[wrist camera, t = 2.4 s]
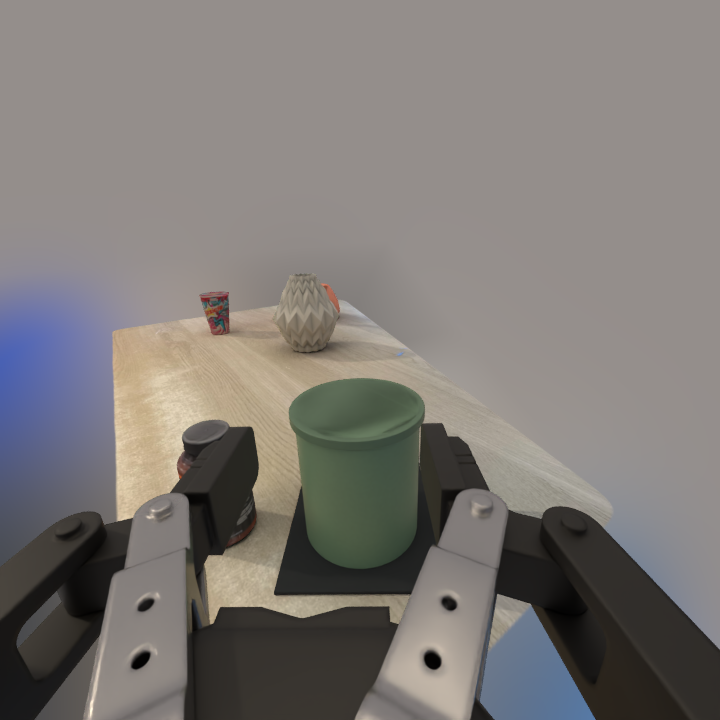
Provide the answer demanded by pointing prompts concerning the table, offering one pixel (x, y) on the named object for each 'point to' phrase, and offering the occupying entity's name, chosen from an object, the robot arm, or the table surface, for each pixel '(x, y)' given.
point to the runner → (321, 576)
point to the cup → (216, 311)
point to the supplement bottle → (193, 445)
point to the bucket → (359, 468)
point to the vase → (305, 314)
